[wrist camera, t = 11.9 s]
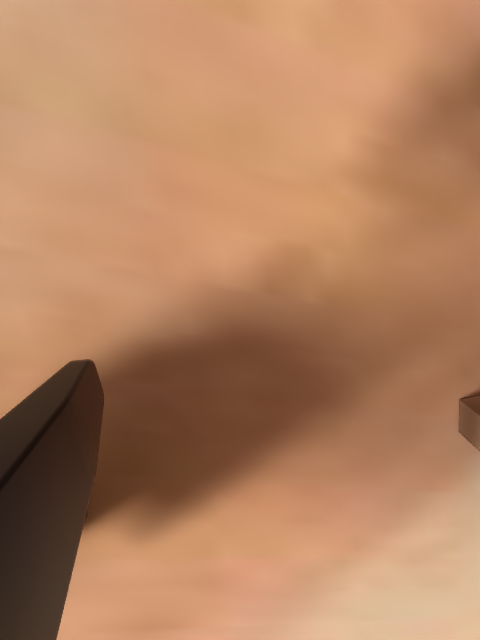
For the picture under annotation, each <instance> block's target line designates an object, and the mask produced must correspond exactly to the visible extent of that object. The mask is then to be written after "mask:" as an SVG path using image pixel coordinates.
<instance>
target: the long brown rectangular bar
mask: <svg viewBox="0 0 480 640" xmlns="http://www.w3.org/2000/svg"><path fill="white" fill-rule="evenodd" d="M459 433H461V434H462V435H463V436H464V437H465V438H466V439H467V440H468V441H469V442H470V443H471V444H472V445H473V446H474V447H476V448H477V449H478V450H479V451H480V395H479V396H474V397H469V398H465V399H460V404H459Z"/></svg>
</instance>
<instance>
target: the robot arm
mask: <svg viewBox="0 0 480 640" xmlns="http://www.w3.org/2000/svg"><path fill="white" fill-rule="evenodd" d="M103 406H104V394H103V389H102V386H101V383H100V379H99V376H98V373H97V369H96V366H95V364H94V362H93V361H92V360H90V359H87V360H75V361H71V362H69V363H68V364H66V365H65V366H64V367H63V368H61V369H60V370H59V371H58V372H57V373H55V374H54V375H53V376H52V377H51V378H49V379H48V380H47V381H46V382H45V383H43V384H42V385H41V386H40V387H39V388H37V389H36V390H35V391H34V392H33V393H31V394H30V395H29V396H28V397H26V398H25V399H24V400H23V401H22V402H20V403H19V404H18V405H17V406H16V407H14V408H13V409H12V410H11V411H10V412H8V413H7V414H6V415H5V416H4V417H2V418H1V419H0V640H56V639H57V635H58V630H59V626H60V622H61V618H62V614H63V609H64V605H65V601H66V597H67V592H68V588H69V584H70V580H71V576H72V571H73V567H74V563H75V559H76V555H77V550H78V546H79V542H80V538H81V534H82V529H83V525H84V521H85V518H86V516H87V513H88V504H89V500H90V496H91V491H92V487H93V483H94V478H95V473H96V467H97V459H98V450H99V442H100V433H101V424H102V415H103Z"/></svg>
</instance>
